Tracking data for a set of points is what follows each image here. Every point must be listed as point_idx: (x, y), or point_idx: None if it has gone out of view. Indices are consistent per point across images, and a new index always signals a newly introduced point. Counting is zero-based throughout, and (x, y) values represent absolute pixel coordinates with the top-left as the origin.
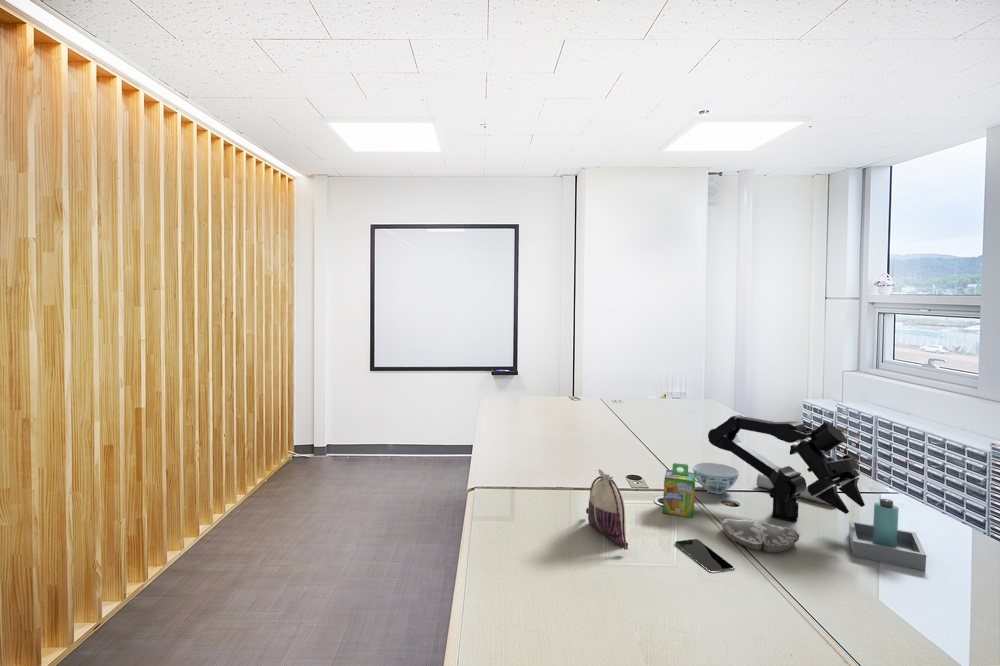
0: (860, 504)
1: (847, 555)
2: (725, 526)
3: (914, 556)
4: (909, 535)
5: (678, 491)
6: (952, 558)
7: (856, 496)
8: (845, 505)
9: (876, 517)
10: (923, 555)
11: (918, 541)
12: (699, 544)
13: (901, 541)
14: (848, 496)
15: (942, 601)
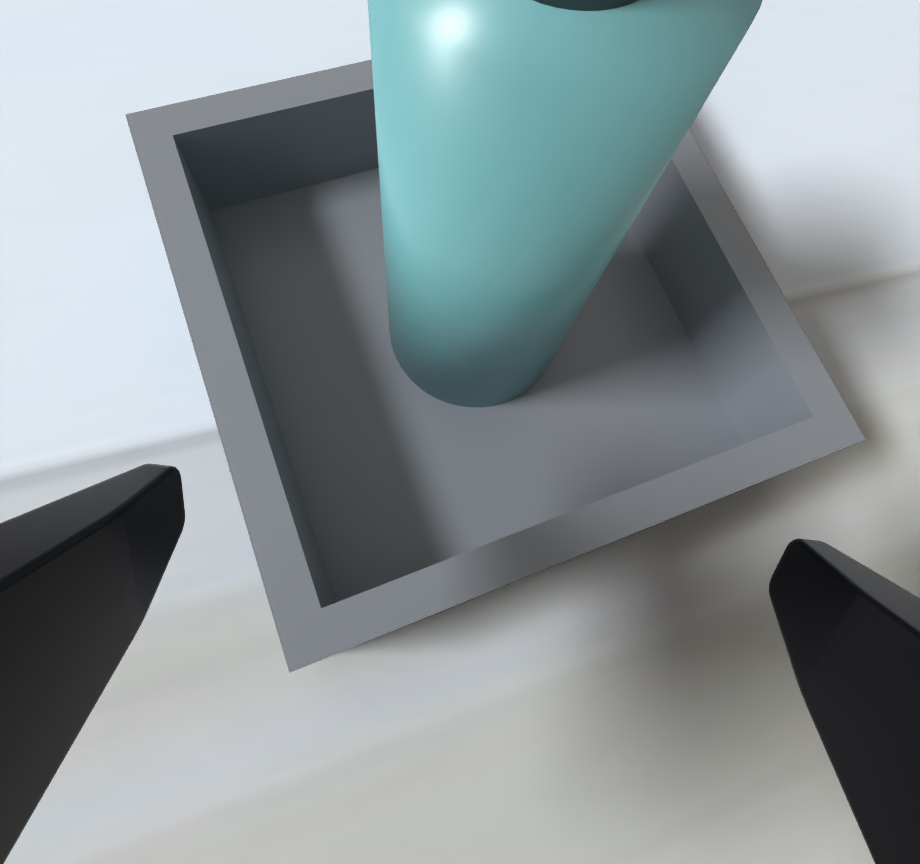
0: (165, 538)
1: (797, 501)
2: None
3: None
4: (185, 169)
5: None
6: (212, 27)
7: (39, 637)
8: (884, 605)
9: (647, 194)
10: None
11: (357, 71)
12: None
13: (225, 259)
14: (2, 856)
15: (886, 14)
